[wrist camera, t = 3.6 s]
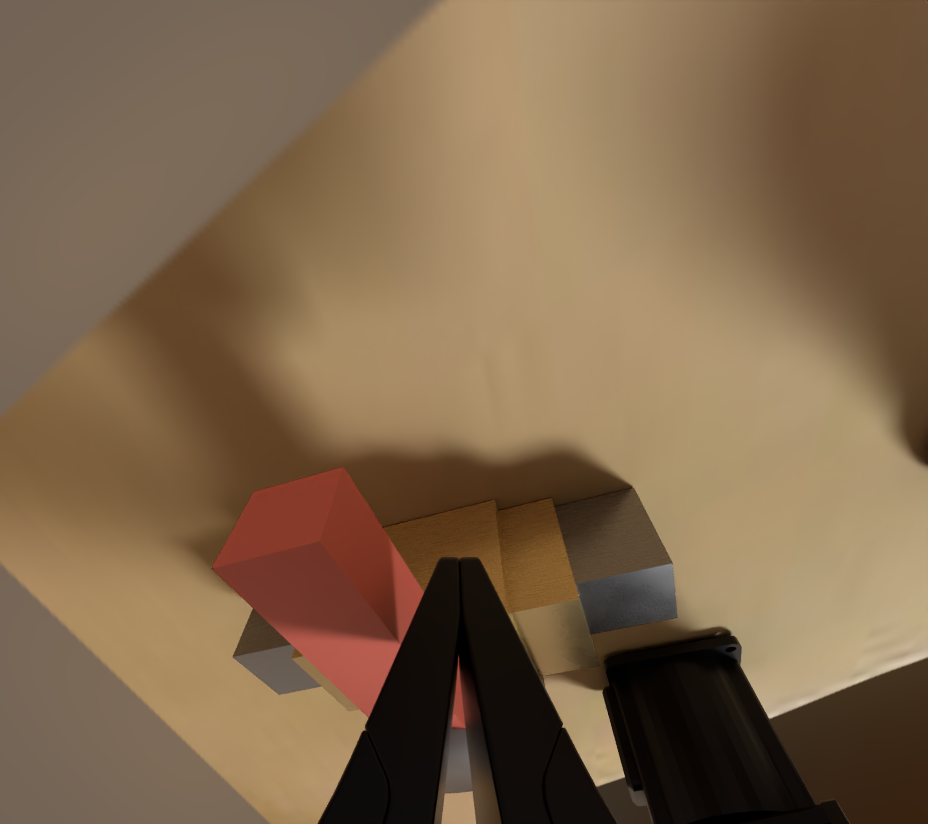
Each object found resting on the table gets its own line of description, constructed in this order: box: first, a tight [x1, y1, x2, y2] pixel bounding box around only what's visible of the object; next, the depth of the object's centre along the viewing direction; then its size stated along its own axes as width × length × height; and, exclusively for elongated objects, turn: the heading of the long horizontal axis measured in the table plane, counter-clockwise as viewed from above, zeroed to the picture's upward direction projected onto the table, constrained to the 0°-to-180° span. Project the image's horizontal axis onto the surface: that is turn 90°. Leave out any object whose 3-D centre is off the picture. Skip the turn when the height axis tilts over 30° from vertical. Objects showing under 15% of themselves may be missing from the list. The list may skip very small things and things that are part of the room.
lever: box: [211, 467, 473, 793], centre depth 10 cm, size 11×4×2 cm, turn 18°
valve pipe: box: [233, 488, 677, 711], centre depth 15 cm, size 15×5×4 cm, turn 108°
